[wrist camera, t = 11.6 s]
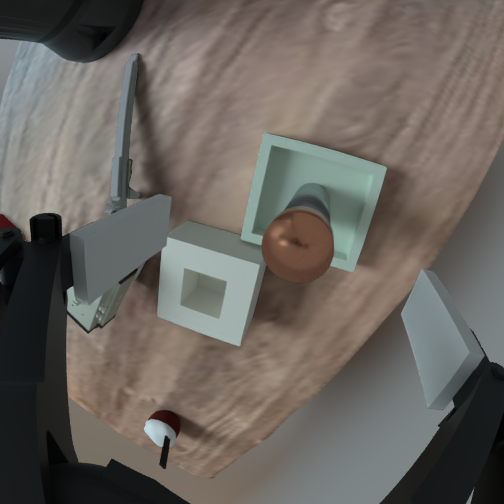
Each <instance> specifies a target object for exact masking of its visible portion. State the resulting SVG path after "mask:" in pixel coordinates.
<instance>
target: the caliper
mask: <svg viewBox="0 0 504 504" xmlns="http://www.w3.org/2000/svg"><path fill="white" fill-rule="evenodd" d="M137 60H138V53H137V54H133V55H131V56H130V59H129V62H126V68H125V74H124V80H123V86H122V93H121V100H120V108H119V117H118V127H117V137H116V150H115V157H114V158H113V161H112V177H111V197H113V200H112V201H105V203H107V204H108V205H109V206H113V208H109V209H107V210H106V211H105V213H111V214H113V213H115V212H117V211H119V210H122V209H124V208H126V207H127V199H138V198H141V197H140V194H139V193H138V192H136V191H134V190H133V189H131V188H130V187H129V181H130V178H131V174H132V170H131V166H132V159H129V145H130V133H131V122H132V112H133V104H134V96H135V89H136V82H137V75H138V63H137Z"/></svg>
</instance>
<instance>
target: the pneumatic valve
mask: <svg viewBox="0 0 504 504" xmlns="http://www.w3.org/2000/svg"><path fill="white" fill-rule="evenodd" d="M145 262H146V261H145ZM145 262H144V263H143V264H141V265H140V266H139V267H137V268H136V269H135V270H133V271H132V272H131V273H129V274H128V275H127V276H126V277H124V278H123V279H122V280H120V281H119V282H118V283H117V284H115V285H114V286H113V287H111V288H110V289H109V290H108V291H106V292H105V293H104V294H103V295H101V296H100V297H99V298H98V299H96V300H95V301H94V302H93V303H91V304H90V305H87V304H85V303H83V302H81V301H79V300H77V299H75V296H74V287H73V286H72V287H71V288H69V289H68V290H67V294H68V306H67V314H68V315H69V316H70V317H71V318H72V319H73V320H74V321H75V322H76V323H77V324H78V325H79V326H80V327H81V328H82V329H83V330H84V331H85V332H87V333H88V334H89V333H90V332H91V331H92V330H93V329H95V328H98V327H100V328H103V327H104V326H105V325H106V324H107V323H108V322H109V321H111V320H112V319H113V318H114V317H115V315H116V313H117V311H118V309H119V307H120V305H121V302H122V300H123V298H124V296H125V294H126V292H127V290H128V288H129V286H130V284H131V282H132V280H135V279H137V278H138V276H139V274H140V272H141V270H142V268H143V266H144V264H145Z"/></svg>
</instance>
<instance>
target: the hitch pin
mask: <svg viewBox="0 0 504 504" xmlns="http://www.w3.org/2000/svg"><path fill="white" fill-rule="evenodd" d="M261 250H262V255H263V259H264V261H265V263H266V265H267V266H268V268H269V269H270V270H271V271H272V272H273V273H274V274H275V275H276V276H278V277H279V278H281V279H283V280H285V281H288V282H293V283H305V282H310V281H313V280H315V279H317V278H319V277H320V276H321V275H323V274H324V273H325V272H326V271H327V269H328V268H329V266H330V265H331V262H332V260H333V256H334V235H333V230H332V227H331V225H330V197H329V194H328V192H327V190H326V189H325V188H324V187H323V186H321V185H320V184H317V183H307V184H304V185H302V186H301V187H300V188H299V189H298V190H297V192H296V193H295V195H294V196H293V198H292V199H291V201H290V202H289V204H288V205H287V206H286V208H285V209H284V210H283V211H282V212H280V213H279V214H278V215H277V216H276V217H275V218H274V220H273V221H272V222H271V224H270V225H269V227H268V228H267V230H266V231H265V233H264V235H263V239H262V244H261Z"/></svg>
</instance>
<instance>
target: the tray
mask: <svg viewBox="0 0 504 504" xmlns="http://www.w3.org/2000/svg"><path fill="white" fill-rule="evenodd" d="M386 170H387V167H385V166H382V165H380V164H377V163H374V162H371V161H367V160H364V159H361V158H358V157H355V156H352V155H348V154H345V153H342V152H338V151H335V150H331V149H328V148H324V147H321V146H317V145H313V144H309V143H306V142H302V141H298V140H294V139H290V138H285V137H281V136H277V135H272V134H268V133H263V137H262V142H261V146H260V151H259V155H258V160H257V164H256V169H255V173H254V178H253V182H252V187H251V192H250V196H249V201H248V206H247V210H246V215H245V220H244V224H243V229H242V234H241V240H244V241H248V242H251V243H255V244H258V245H261V244H262V239H263V235H264V233H265V231H266V230H267V228H268V227H269V225H270V224H271V222H272V221H273V220H274V218H275V217H276V216H277V215H278V214H279V213H280V212H282V211H283V210H284V209H285V208H286V206H287V205H288V204H289V202H290V201H291V199H292V198H293V196H294V195H295V193H296V192H297V190H298V189H299V188H300V187H301V186H302V185H304V184H307V183H317V184H320V185H321V186H323V187H324V188H325V189H326V190H327V192H328V194H329V197H330V225H331V227H332V230H333V235H334V256H333V260H332V262H331V265H330V266H333V267H336V268H340V269H343V270H346V271H350V272H353V271H354V269H355V266H356V263H357V260H358V258H359V255H360V252H361V249H362V246H363V243H364V241H365V238H366V235H367V232H368V229H369V226H370V223H371V220H372V216H373V213H374V210H375V207H376V204H377V201H378V197H379V194H380V191H381V187H382V184H383V180H384V177H385V173H386Z"/></svg>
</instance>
